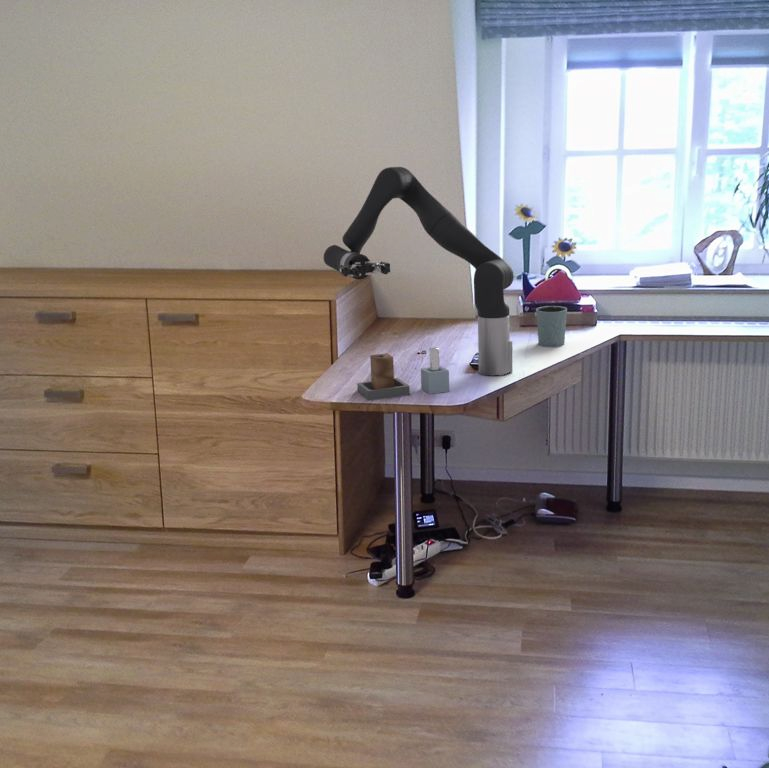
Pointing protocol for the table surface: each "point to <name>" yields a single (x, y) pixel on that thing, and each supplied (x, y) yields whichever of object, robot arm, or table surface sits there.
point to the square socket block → (435, 380)
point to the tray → (383, 390)
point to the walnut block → (382, 371)
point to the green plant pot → (551, 325)
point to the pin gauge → (434, 359)
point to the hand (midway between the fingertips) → (372, 271)
